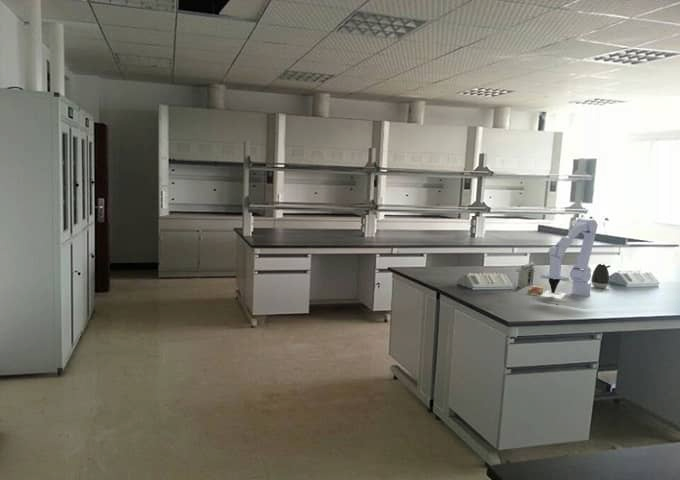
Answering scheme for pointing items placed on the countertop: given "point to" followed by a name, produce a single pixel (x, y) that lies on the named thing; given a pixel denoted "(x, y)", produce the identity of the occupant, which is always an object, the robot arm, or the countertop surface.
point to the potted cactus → (600, 276)
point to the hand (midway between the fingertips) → (553, 292)
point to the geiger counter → (526, 275)
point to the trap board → (547, 294)
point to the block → (537, 290)
